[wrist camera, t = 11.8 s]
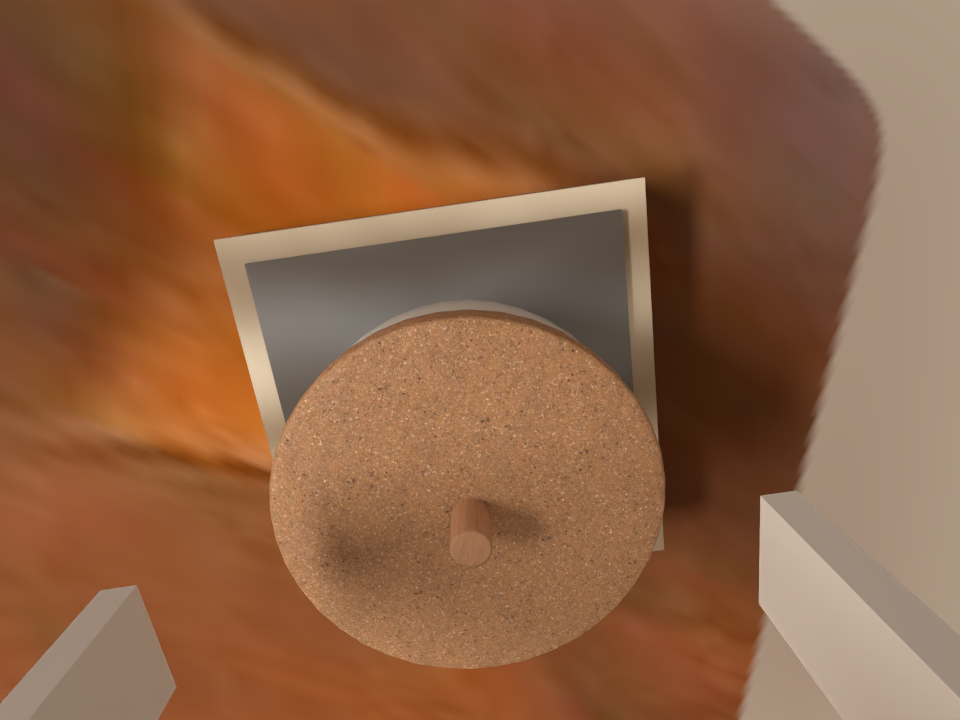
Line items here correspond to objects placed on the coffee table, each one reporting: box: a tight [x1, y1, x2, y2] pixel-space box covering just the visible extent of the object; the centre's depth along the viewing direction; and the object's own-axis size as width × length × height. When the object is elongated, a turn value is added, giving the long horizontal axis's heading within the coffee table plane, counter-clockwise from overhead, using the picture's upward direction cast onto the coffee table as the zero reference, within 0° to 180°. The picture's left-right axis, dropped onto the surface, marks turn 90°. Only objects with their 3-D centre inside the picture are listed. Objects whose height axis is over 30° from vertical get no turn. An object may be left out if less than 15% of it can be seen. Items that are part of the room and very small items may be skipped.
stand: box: [214, 177, 664, 551], centre depth 24 cm, size 16×16×3 cm
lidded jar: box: [269, 299, 665, 669], centre depth 18 cm, size 11×11×9 cm
